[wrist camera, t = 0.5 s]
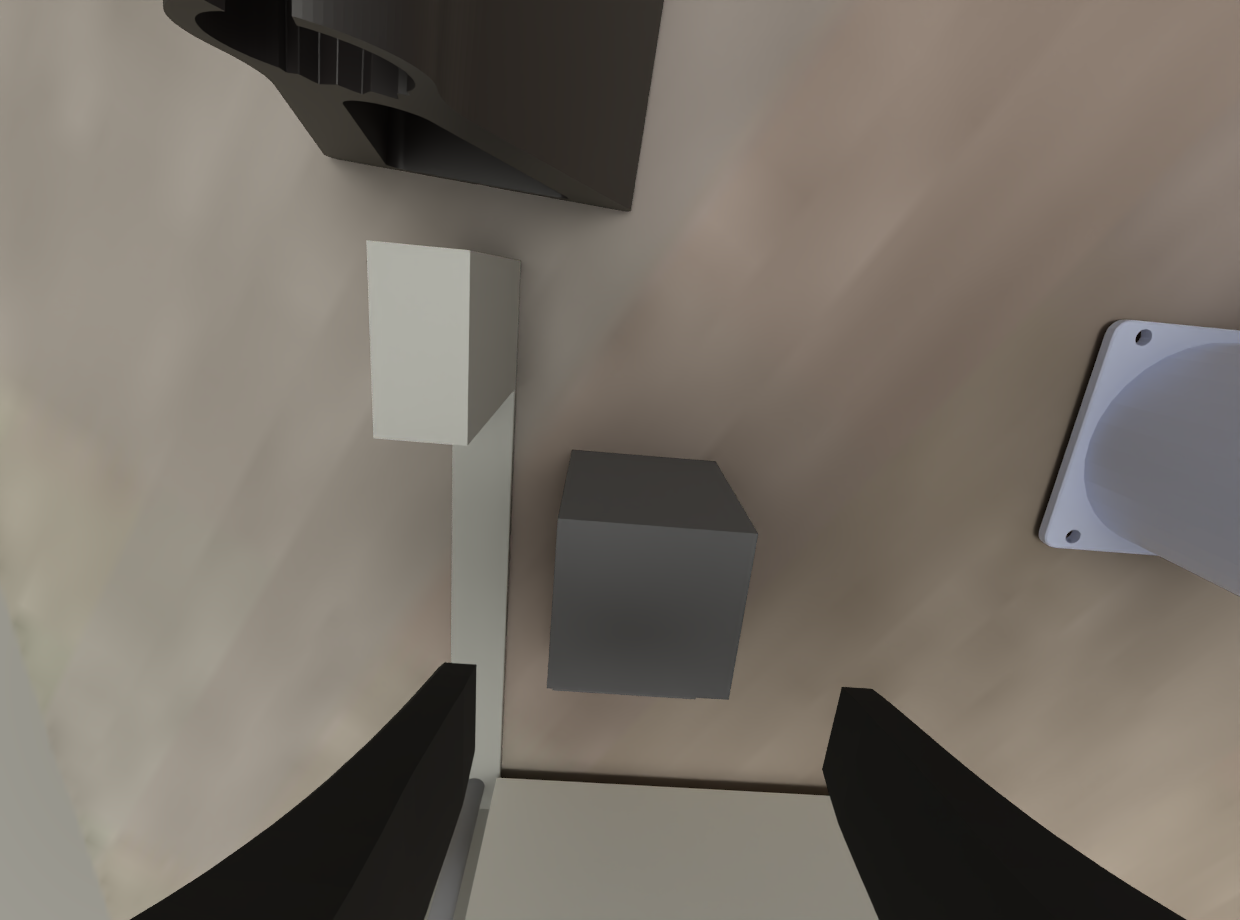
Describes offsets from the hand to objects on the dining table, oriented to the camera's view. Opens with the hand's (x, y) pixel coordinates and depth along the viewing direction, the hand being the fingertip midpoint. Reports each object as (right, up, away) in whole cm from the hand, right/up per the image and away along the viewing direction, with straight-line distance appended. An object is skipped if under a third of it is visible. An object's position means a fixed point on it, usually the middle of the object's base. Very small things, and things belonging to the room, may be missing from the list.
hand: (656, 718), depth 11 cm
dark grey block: (0, +1, +10) cm, 10 cm away
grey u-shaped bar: (-6, -1, +11) cm, 12 cm away
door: (+2, -10, +13) cm, 16 cm away
